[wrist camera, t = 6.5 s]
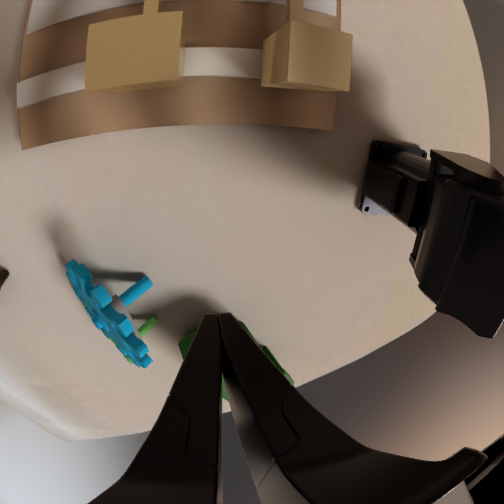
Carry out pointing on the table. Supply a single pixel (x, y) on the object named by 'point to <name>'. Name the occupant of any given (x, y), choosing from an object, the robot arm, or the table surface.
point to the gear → (113, 312)
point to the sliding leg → (136, 52)
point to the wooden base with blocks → (188, 68)
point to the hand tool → (3, 277)
